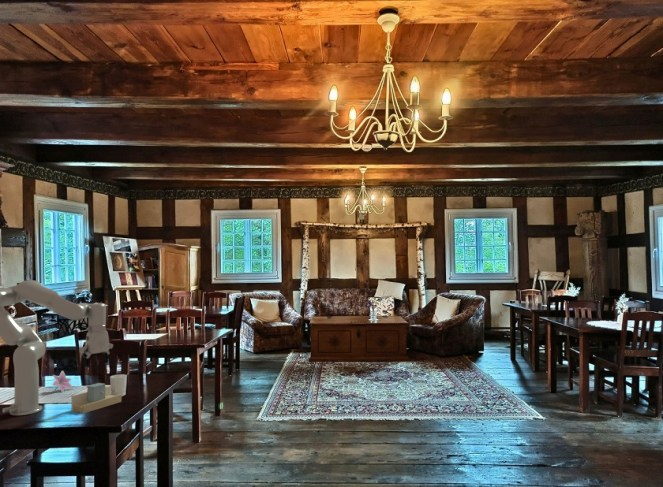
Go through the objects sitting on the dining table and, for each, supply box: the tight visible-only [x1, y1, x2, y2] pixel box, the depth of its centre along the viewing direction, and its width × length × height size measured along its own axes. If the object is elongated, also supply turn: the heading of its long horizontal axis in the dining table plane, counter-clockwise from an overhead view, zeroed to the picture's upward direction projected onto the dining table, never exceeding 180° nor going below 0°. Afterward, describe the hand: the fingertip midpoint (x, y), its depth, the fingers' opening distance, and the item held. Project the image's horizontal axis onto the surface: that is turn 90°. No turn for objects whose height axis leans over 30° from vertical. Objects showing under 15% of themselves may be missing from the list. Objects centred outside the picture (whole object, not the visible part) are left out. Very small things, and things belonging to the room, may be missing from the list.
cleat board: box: [70, 385, 122, 414], centre depth 225 cm, size 20×9×7 cm, turn 152°
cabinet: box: [86, 382, 106, 403], centre depth 225 cm, size 6×6×8 cm
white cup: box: [109, 373, 128, 397], centre depth 243 cm, size 8×8×10 cm
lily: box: [52, 370, 74, 393], centre depth 256 cm, size 12×12×10 cm
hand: (96, 364), depth 226 cm, fingers open, 9 cm apart
